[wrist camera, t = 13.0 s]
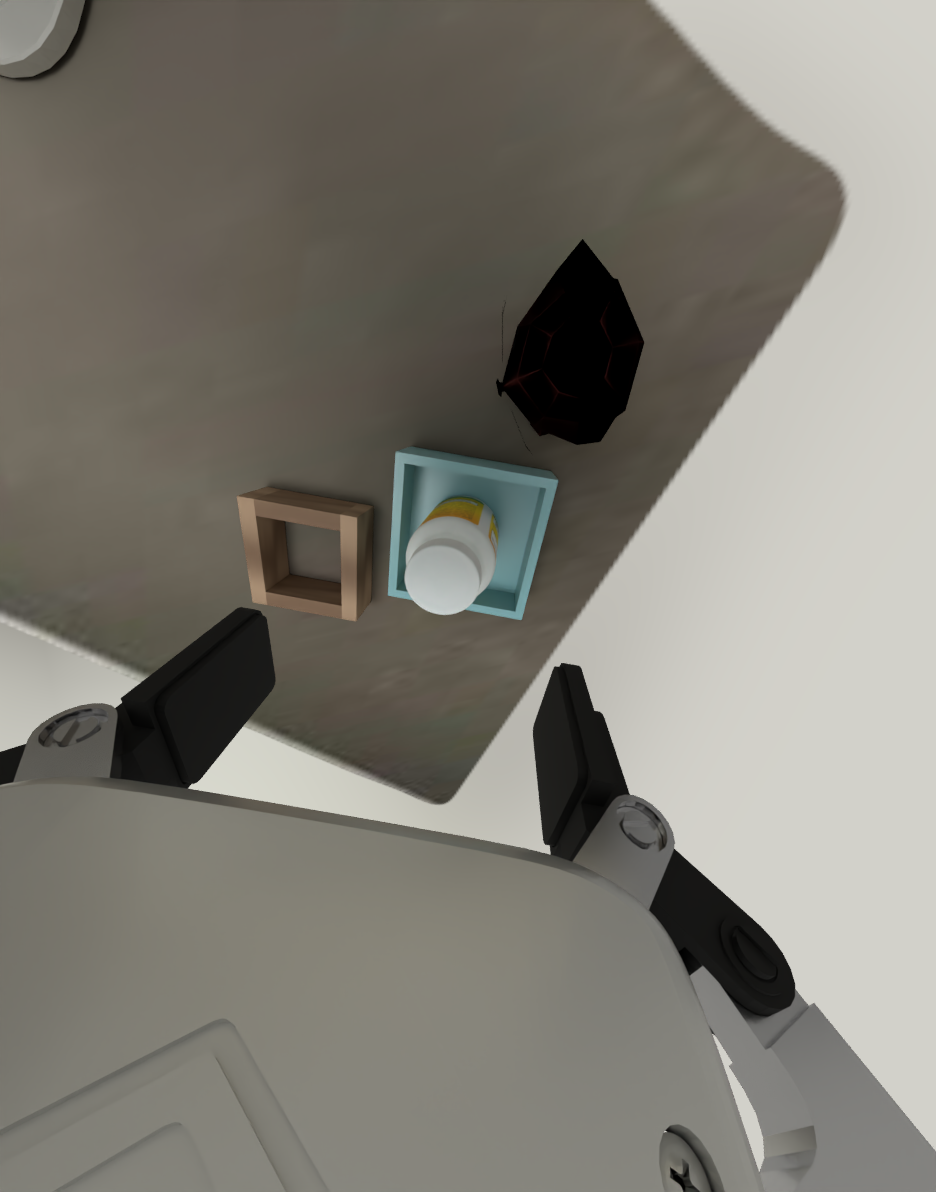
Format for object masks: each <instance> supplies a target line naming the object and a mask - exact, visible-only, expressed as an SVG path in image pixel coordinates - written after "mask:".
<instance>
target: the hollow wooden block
mask: <svg viewBox="0 0 936 1192" xmlns="http://www.w3.org/2000/svg"><path fill="white" fill-rule="evenodd" d="M237 501H238V508H239V514H240V521H241V528H242V534H243V541H244V547H245V554H246V561H247V567H248V574H249V581H250V587H251V594H252V600H253V602H254V603H260V604H265V605H270V606H276V607H281V608H287V609H292V610H297V611H303V612H308V613H314V614H319V615H325V616H330V617H335V618H341V619H346V620H352V621H357V620H358V618H359V617H360V616H361V614H362V613H363V612H364V610H365V609H366V607H367V606H368V605H369V603H370V602H371V587H372V552H373V518H374V506H370V505H365V504H359V503H354V502H348V501H343V500H337V499H332V498H326V497H320V496H315V495H309V494H304V493H298V492H293V491H287V490H281V489H276V488H270V487H265V488H261V489H258V490H255V491H251V492H248V493H245V494H242V495H238V496H237ZM285 521H287V522H293V523H298V524H304V525H309V526H315V527H320V528H326V529H331V530H337V531H340V533H341V584H340V583H334V582H329V581H323V580H318V579H312V578H307V577H301V576H296V575H290V574H289V564H288V553H287V542H286V531H285Z"/></svg>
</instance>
